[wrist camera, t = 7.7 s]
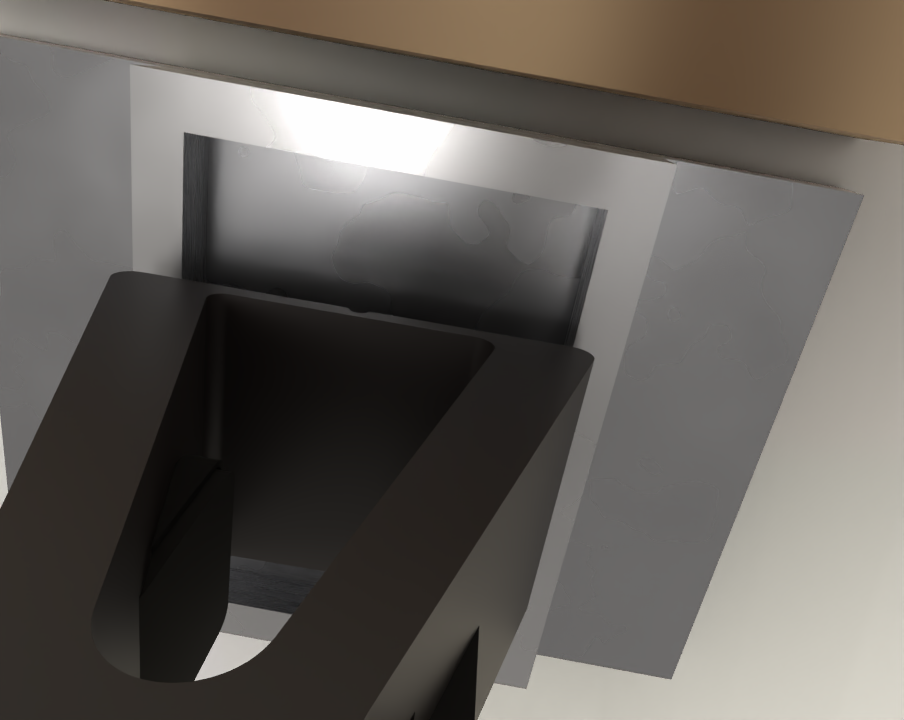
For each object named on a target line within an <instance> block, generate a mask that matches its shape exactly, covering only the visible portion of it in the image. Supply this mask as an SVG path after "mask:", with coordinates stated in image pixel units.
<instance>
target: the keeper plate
mask: <svg viewBox="0 0 904 720" xmlns="http://www.w3.org/2000/svg"><path fill="white" fill-rule="evenodd" d="M863 197H864V195H863V194H859V193H856V192H853V191H849V190H846V189H843V188H839V187H833V186H828V185H822V184H817V183H811V182H806V181H800V180H795V179H789V178H784V177H779V176H773V175H768V174H762V173H757V172H751V171H746V170H740V169H735V168H729V167H724V166H719V165H713V164H708V163H702V162H697V161H691V160H686V159H680V158H675V157H669V156H664V155H658V154H653V153H648V152H642V151H637V150H631V149H626V148H620V147H615V146H609V145H604V144H598V143H593V142H588V141H582V140H577V139H571V138H566V137H560V136H555V135H549V134H544V133H538V132H533V131H527V130H522V129H517V128H511V127H506V126H500V125H495V124H489V123H484V122H478V121H473V120H467V119H462V118H457V117H451V116H446V115H440V114H435V113H429V112H424V111H418V110H413V109H407V108H402V107H396V106H391V105H386V104H380V103H375V102H369V101H364V100H358V99H353V98H347V97H342V96H336V95H331V94H325V93H320V92H315V91H309V90H304V89H298V88H293V87H287V86H282V85H276V84H271V83H265V82H260V81H255V80H249V79H244V78H238V77H233V76H227V75H222V74H216V73H211V72H205V71H200V70H194V69H189V68H184V67H178V66H173V65H167V64H162V63H156V62H151V61H145V60H140V59H134V58H129V57H124V56H118V55H113V54H107V53H102V52H96V51H91V50H85V49H80V48H74V47H69V46H63V45H58V44H53V43H47V42H42V41H36V40H31V39H25V38H20V37H14V36H9V35H3V34H0V416H1V426H2V436H3V446H4V456H5V465H6V475H7V485H8V492H9V490H10V487H11V485H12V483H13V481H14V479H15V477H16V475H17V473H18V470H19V468H20V466H21V464H22V462H23V460H24V458H25V456H26V453H27V451H28V449H29V447H30V445H31V443H32V441H33V439H34V437H35V434H36V432H37V430H38V428H39V426H40V424H41V422H42V420H43V417H44V415H45V413H46V411H47V409H48V407H49V405H50V403H51V401H52V398H53V396H54V394H55V392H56V390H57V388H58V386H59V384H60V381H61V379H62V377H63V375H64V373H65V371H66V369H67V367H68V364H69V362H70V360H71V358H72V356H73V354H74V352H75V350H76V348H77V345H78V343H79V341H80V339H81V337H82V335H83V333H84V331H85V328H86V326H87V324H88V322H89V320H90V318H91V316H92V314H93V311H94V309H95V307H96V305H97V303H98V301H99V299H100V297H101V295H102V292H103V290H104V288H105V286H106V284H107V282H108V280H109V278H110V276H111V275H112V274H114V273H117V272H122V271H139V272H145V273H151V274H157V275H162V276H168V277H174V278H180V279H185V280H191V281H197V282H203V283H208V284H214V285H220V286H226V287H231V288H237V289H243V290H249V291H254V292H260V293H266V294H272V295H277V296H283V297H289V298H295V299H300V300H306V301H312V302H318V303H323V304H329V305H335V306H341V307H346V308H349V310H350V311H352V312H356V313H367V312H375V313H381V314H387V315H392V316H398V317H404V318H409V319H415V320H421V321H427V322H432V323H438V324H444V325H450V326H455V327H461V328H467V329H473V330H478V331H484V332H490V333H496V334H501V335H507V336H513V337H519V338H524V339H530V340H536V341H542V342H547V343H553V344H559V345H565V346H570V347H576V348H579V349H582V350H585V351H587V352H589V353H590V354H592V355H593V356H594V358H595V359H594V363H593V367H592V370H591V374H590V378H589V382H588V385H587V389H586V393H585V396H584V400H583V404H582V407H581V411H580V415H579V419H578V422H577V426H576V430H575V433H574V437H573V441H572V444H571V448H570V452H569V456H568V459H567V463H566V467H565V470H564V474H563V478H562V481H561V485H560V489H559V493H558V496H557V500H556V504H555V507H554V511H553V515H552V518H551V522H550V526H549V530H548V533H547V537H546V541H545V544H544V548H543V552H542V555H541V559H540V563H539V567H538V570H537V574H536V578H535V581H534V585H533V589H532V592H531V596H530V600H529V604H528V607H527V610H526V612H525V614H524V617H523V619H522V621H521V623H520V626H519V628H518V630H517V632H516V634H515V637H514V639H513V641H512V643H511V646H510V648H509V650H508V652H507V654H506V657H505V659H504V661H503V663H502V666H501V668H500V670H499V672H498V675H497V677H496V679H495V681H494V683H497V684H502V685H508V686H513V687H519V688H524V689H526V688H527V685H528V681H529V678H530V674H531V671H532V667H533V664H534V660H535V657H536V654H538V655H543V656H548V657H554V658H559V659H565V660H570V661H575V662H581V663H586V664H591V665H597V666H602V667H608V668H613V669H618V670H624V671H629V672H634V673H640V674H645V675H651V676H656V677H661V678H667V679H672V676H673V674H674V671H675V669H676V666H677V664H678V661H679V659H680V656H681V654H682V651H683V649H684V646H685V644H686V641H687V639H688V636H689V634H690V631H691V628H692V626H693V623H694V621H695V618H696V616H697V613H698V611H699V608H700V606H701V603H702V601H703V598H704V596H705V593H706V591H707V588H708V586H709V583H710V581H711V578H712V576H713V573H714V571H715V568H716V566H717V563H718V561H719V558H720V556H721V553H722V551H723V548H724V546H725V543H726V541H727V538H728V536H729V533H730V531H731V528H732V526H733V523H734V521H735V518H736V516H737V513H738V511H739V508H740V506H741V503H742V501H743V498H744V495H745V493H746V490H747V488H748V485H749V483H750V480H751V478H752V475H753V473H754V470H755V468H756V465H757V463H758V460H759V458H760V455H761V453H762V450H763V448H764V445H765V443H766V440H767V438H768V435H769V433H770V430H771V428H772V425H773V423H774V420H775V418H776V415H777V413H778V410H779V408H780V405H781V403H782V400H783V398H784V395H785V393H786V390H787V388H788V385H789V383H790V380H791V378H792V375H793V373H794V370H795V367H796V365H797V362H798V360H799V357H800V355H801V352H802V350H803V347H804V345H805V342H806V340H807V337H808V335H809V332H810V330H811V327H812V325H813V322H814V320H815V317H816V315H817V312H818V310H819V307H820V305H821V302H822V300H823V297H824V295H825V292H826V290H827V287H828V285H829V282H830V280H831V277H832V275H833V272H834V270H835V267H836V265H837V262H838V260H839V257H840V255H841V252H842V250H843V247H844V245H845V242H846V240H847V237H848V234H849V232H850V229H851V227H852V224H853V222H854V219H855V217H856V214H857V212H858V209H859V207H860V204H861V202H862V199H863ZM324 572H325V571H320V570H314V569H308V568H302V567H296V566H290V565H284V564H278V563H272V562H266V561H259V560H253V559H247V558H241V557H235V556H231V560H230V579H229V598H228V609H227V614H226V617H225V620H224V623H223V626H222V628H221V630H220V632H223V633H228V634H234V635H239V636H245V637H250V638H255V639H261V640H266V641H271V642H272V640H273V639H274V638H275V637H276V635H277V634H278V633H279V631H280V630H281V629H282V627H283V626H284V625H285V623H286V622H287V621H288V620H289V618H290V617H291V616H292V614H293V613H294V612H295V610H296V609H297V608H298V606H299V605H300V604H301V602H302V601H303V600H304V599H305V597H306V596H307V595H308V593H309V592H310V591H311V589H312V588H313V587H314V585H315V584H316V583H317V582H318V580H319V579H320V578H321V576H322V575H323V574H324Z"/></svg>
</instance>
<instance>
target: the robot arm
mask: <svg viewBox="0 0 904 720" xmlns="http://www.w3.org/2000/svg"><path fill="white" fill-rule="evenodd" d="M234 483H235V478H234V473H233V472H230V471H225V467H224V463H223V462H222V461H221V460H216V459H211V458H206V457H200V456H195V455H189V454H186V455H184V456H183V457H181V458H180V459H179V461H178V462H177V463H176V464H175V467H174V471H173V474H172V478H171V481H170V485H169V488H168V492H167V495H166V499H165V502H164V505H163V509H162V512H161V516H160V519H159V523H158V526H157V530H156V533H155V536H154V540H153V543H152V547H151V554H152V555H151V559H150V562H149V566H148V569H147V573H146V577H145V580H144V584H143V587H142V591H141V594H140V598H139V645H140V679H144V680H148V681H154V682H164V683H181V682H192V681H194V680H195V678H196V676H197V674H198V672H199V670H200V669H201V667H202V665H203V663H204V661H205V659H206V657H207V655H208V653H209V651H210V649H211V647H212V646H213V644H214V642H215V640H216V638H217V636H218V634H219V632H220V630H221V628H222V626H223V623H224V620H225V617H226V614H227V609H228V598H229V579H230V560H231V541H232V521H233V502H234ZM478 642H479V627H478V629H477V630H476V632H475V634H474V636H473V638H472V640H471V642H470V644H469V646H468V647H467V649H466V651H465V653H464V655H463V657H462V659H461V661H460V662H459V664H458V666H457V668H456V670H455V672H454V674H453V676H452V678H451V679H450V681H449V683H448V685H447V687H446V689H445V691H444V693H443V695H442V696H441V698H440V700H439V702H438V704H437V706H436V708H435V710H434V711H433V713H432V715H431V717H430V719H429V720H475V705H476V684H477V663H478ZM414 716H415V712H414V714H413V716H412V718H411V720H414Z"/></svg>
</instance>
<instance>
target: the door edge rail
mask: <svg viewBox="0 0 904 720" xmlns="http://www.w3.org/2000/svg"><path fill="white" fill-rule="evenodd" d="M106 1H111V2H116V3H122V4H127V5H133V6H138V7H144V8H149V9H155V10H160V11H166V12H171V13H177V14H182V15H188V16H193V17H198V18H204V19H209V20H215V21H220V22H226V23H231V24H237V25H242V26H248V27H253V28H259V29H264V30H270V31H275V32H280V33H286V34H291V35H297V36H302V37H308V38H313V39H319V40H324V41H330V42H335V43H341V44H346V45H352V46H357V47H362V48H368V49H373V50H379V51H384V52H390V53H395V54H401V55H406V56H412V57H417V58H423V59H428V60H434V61H439V62H444V63H450V64H455V65H461V66H466V67H472V68H477V69H483V70H488V71H494V72H499V73H505V74H510V75H516V76H521V77H526V78H532V79H537V80H543V81H548V82H554V83H559V84H565V85H570V86H576V87H581V88H587V89H592V90H598V91H603V92H608V93H614V94H619V95H625V96H630V97H636V98H641V99H647V100H652V101H658V102H663V103H669V104H674V105H680V106H685V107H690V108H696V109H701V110H707V111H712V112H718V113H723V114H729V115H734V116H740V117H745V118H751V119H756V120H762V121H767V122H772V123H778V124H783V125H789V126H794V127H800V128H805V129H811V130H816V131H822V132H827V133H833V134H838V135H844V136H849V137H854V138H860V139H867V140H874V141H880V142H887V143H894V144H901V145H904V0H106Z"/></svg>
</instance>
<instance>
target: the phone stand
mask: <svg viewBox="0 0 904 720" xmlns="http://www.w3.org/2000/svg"><path fill="white" fill-rule="evenodd" d="M594 359H595V358H594V356H593V355H592V354H590V353H589V352H587V351H585V350H582V349H579V348H576V347H570V346H565V345H559V344H553V343H547V342H542V341H536V340H530V339H524V338H519V337H513V336H507V335H501V334H496V333H490V332H484V331H478V330H473V329H467V328H461V327H455V326H450V325H444V324H438V323H432V322H427V321H421V320H415V319H409V318H404V317H398V316H392V315H387V314H381V313H375V312H367V313H356V312H352V311H350V310H349V308H346V307H341V306H335V305H329V304H323V303H318V302H312V301H306V300H300V299H295V298H289V297H283V296H277V295H272V294H266V293H260V292H254V291H249V290H243V289H237V288H231V287H226V286H220V285H214V284H208V283H203V282H197V281H191V280H185V279H180V278H174V277H168V276H162V275H157V274H151V273H145V272H139V271H122V272H117V273H114V274H112V275H111V276H110V278H109V280H108V282H107V284H106V286H105V288H104V290H103V292H102V295H101V297H100V299H99V301H98V303H97V305H96V307H95V309H94V311H93V314H92V316H91V318H90V320H89V322H88V324H87V326H86V328H85V331H84V333H83V335H82V337H81V339H80V341H79V343H78V345H77V348H76V350H75V352H74V354H73V356H72V358H71V360H70V362H69V364H68V367H67V369H66V371H65V373H64V375H63V377H62V379H61V381H60V384H59V386H58V388H57V390H56V392H55V394H54V396H53V398H52V401H51V403H50V405H49V407H48V409H47V411H46V413H45V415H44V417H43V420H42V422H41V424H40V426H39V428H38V430H37V432H36V434H35V437H34V439H33V441H32V443H31V445H30V447H29V449H28V451H27V453H26V456H25V458H24V460H23V462H22V464H21V466H20V468H19V470H18V473H17V475H16V477H15V479H14V481H13V483H12V485H11V487H10V490H9V492H8V494H7V496H6V498H5V500H4V502H3V504H2V506H1V509H0V720H411V718H412V716H413V714H414V712H415V716H414V720H429V719H430V717H431V715H432V713H433V711H434V710H435V708H436V706H437V704H438V702H439V700H440V698H441V696H442V695H443V693H444V691H445V689H446V687H447V685H448V683H449V681H450V679H451V678H452V676H453V674H454V672H455V670H456V668H457V666H458V664H459V662H460V661H461V659H462V657H463V655H464V653H465V651H466V649H467V647H468V646H469V644H470V642H471V640H472V638H473V636H474V634H475V632H476V630H477V629H478V627H479V642H478V663H477V684H476V705H475V720H477V719H478V717H479V715H480V712H481V710H482V708H483V706H484V703H485V701H486V699H487V697H488V695H489V692H490V690H491V688H492V686H493V683H494V681H495V679H496V677H497V675H498V672H499V670H500V668H501V666H502V663H503V661H504V659H505V657H506V654H507V652H508V650H509V648H510V646H511V643H512V641H513V639H514V637H515V634H516V632H517V630H518V628H519V626H520V623H521V621H522V619H523V617H524V614H525V612H526V610H527V607H528V604H529V600H530V596H531V592H532V589H533V585H534V581H535V578H536V574H537V570H538V567H539V563H540V559H541V555H542V552H543V548H544V544H545V541H546V537H547V533H548V530H549V526H550V522H551V518H552V515H553V511H554V507H555V504H556V500H557V496H558V493H559V489H560V485H561V481H562V478H563V474H564V470H565V467H566V463H567V459H568V456H569V452H570V448H571V444H572V441H573V437H574V433H575V430H576V426H577V422H578V419H579V415H580V411H581V407H582V404H583V400H584V396H585V393H586V389H587V385H588V382H589V378H590V374H591V370H592V367H593V363H594ZM186 454H189V455H195V456H200V457H206V458H211V459H216V460H221V461H222V462H223V463H224V467H225V471H230V472H233V473H234V478H235V483H234V502H233V521H232V541H231V556H235V557H241V558H247V559H253V560H259V561H266V562H272V563H278V564H284V565H290V566H296V567H302V568H308V569H314V570H320V571H325V572H324V574H323V575H322V576H321V578H320V579H319V580H318V582H317V583H316V584H315V585H314V587H313V588H312V589H311V591H310V592H309V593H308V595H307V596H306V597H305V599H304V600H303V601H302V602H301V604H300V605H299V606H298V608H297V609H296V610H295V612H294V613H293V614H292V616H291V617H290V618H289V620H288V621H287V622H286V623H285V625H284V626H283V627H282V629H281V630H280V631H279V633H278V634H277V635H276V637H275V638H274V639H273V640H272V642H271V643H270V644H269V645H268V646H267V647H266V648H265V649H264V650H263V651H261V652H260V653H259V654H258V655H256V656H255V657H254V658H252V659H251V660H249V661H248V662H246V663H245V664H243V665H241V666H239V667H237V668H235V669H233V670H231V671H228V672H226V673H223V674H221V675H218V676H214V677H211V678H207V679H203V680H198V681H192V682H181V683H164V682H154V681H148V680H144V679H140V645H139V598H140V594H141V591H142V587H143V584H144V580H145V577H146V573H147V569H148V566H149V562H150V559H151V555H152V554H151V547H152V543H153V540H154V536H155V533H156V530H157V526H158V523H159V519H160V516H161V512H162V509H163V505H164V502H165V499H166V495H167V492H168V488H169V485H170V481H171V478H172V474H173V471H174V467H175V464H176V463H177V462H178V461H179V459H180V458H181V457H183V456H184V455H186Z"/></svg>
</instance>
